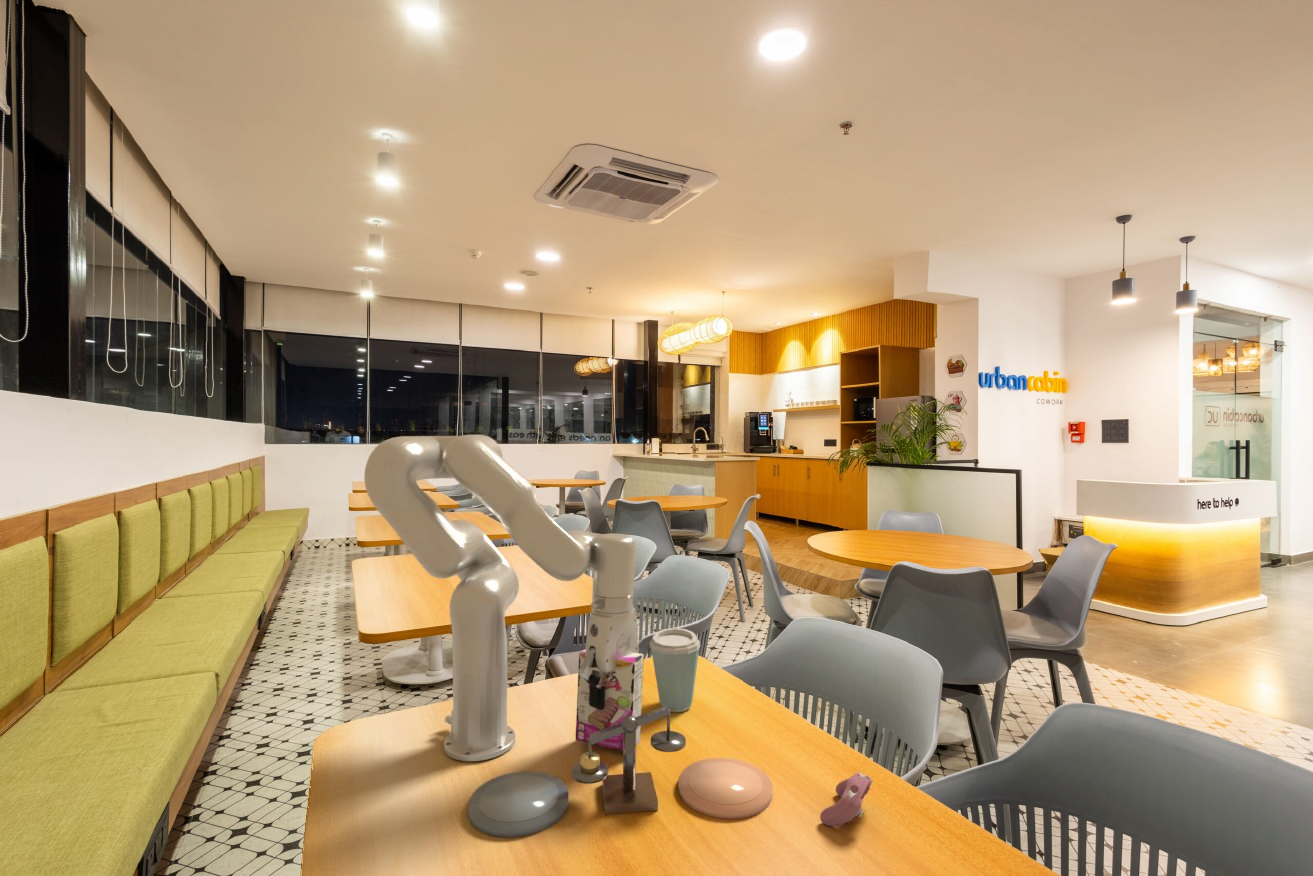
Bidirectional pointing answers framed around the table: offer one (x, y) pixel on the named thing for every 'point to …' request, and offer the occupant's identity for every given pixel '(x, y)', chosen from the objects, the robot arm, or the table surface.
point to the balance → (627, 765)
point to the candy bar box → (611, 700)
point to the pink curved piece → (847, 800)
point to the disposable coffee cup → (675, 667)
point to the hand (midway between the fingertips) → (609, 700)
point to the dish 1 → (518, 804)
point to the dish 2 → (725, 788)
